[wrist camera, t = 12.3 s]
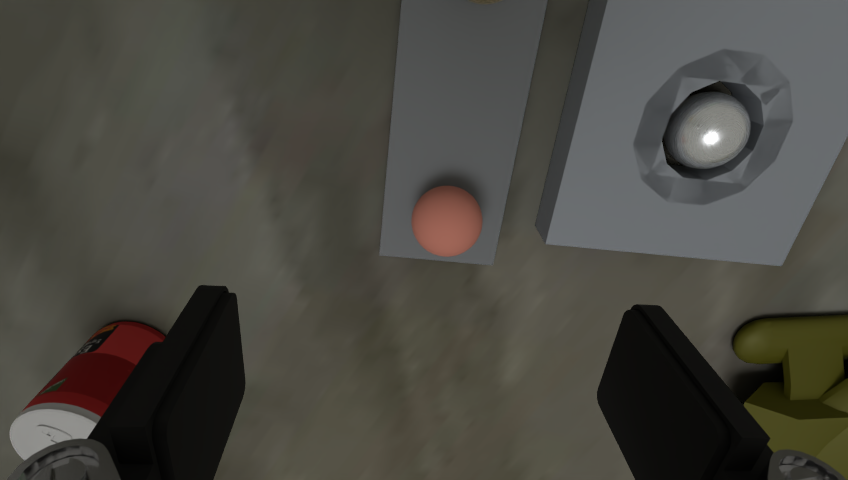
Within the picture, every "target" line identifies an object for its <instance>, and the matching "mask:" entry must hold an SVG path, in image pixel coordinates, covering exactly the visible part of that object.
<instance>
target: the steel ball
mask: <svg viewBox="0 0 848 480" xmlns="http://www.w3.org/2000/svg"><path fill="white" fill-rule="evenodd" d="M750 129H751V122H750V117H749V114H748V112H747V110H746V108H745V107H744V106H743V104H742V103H741V102H740V101H738V100H737V99H736V98H734V97H732V96H730V95H728V94H725V93H721V92H703V93H698V94H695V95H692V96H690V97H688V98H687V99H685V100H684V101H683V102H682V103H681V104H680V105H679V106H678V107H677V108H676V109H675V110H674V111H673V112H672V114H671V115H670V118H669V121H668V124H667V127H666V130H665V133H664V142H665V145H666V148H667V150H668V152H669V153H670V154H671V156H672V157H673V158H674V159H675V160H677V161H678V162H679V163H681V164H683V165H685V166H688V167H692V168H697V169H708V168H713V167H717V166H720V165H723V164H725V163H727V162H728V161H730V160H732V159H733V158H734V157H736V156H737V155H738V154H739V153H740V152H741V150H742V149H743V148H744V146H745V145H746V143H747V141H748V138H749V135H750Z"/></svg>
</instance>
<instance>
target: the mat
mask: <svg viewBox="0 0 848 480" xmlns="http://www.w3.org/2000/svg"><path fill="white" fill-rule="evenodd" d="M547 2H548V0H502V1H500V2H497V3H493V4H477V3H473V2H470V1H468V0H402V1H401V13H400V24H399V36H398V47H397V58H396V70H395V81H394V93H393V104H392V116H391V127H390V138H389V150H388V161H387V173H386V184H385V195H384V207H383V218H382V230H381V241H380V253H379V255H382V256H393V257H405V258H416V259H427V260H438V261H450V262H461V263H472V264H483V265H493V263H494V258H495V253H496V248H497V244H498V239H499V234H500V229H501V224H502V219H503V214H504V210H505V205H506V200H507V195H508V190H509V185H510V181H511V176H512V171H513V166H514V161H515V156H516V152H517V147H518V142H519V137H520V132H521V127H522V123H523V118H524V113H525V108H526V103H527V98H528V94H529V89H530V84H531V79H532V74H533V69H534V65H535V60H536V55H537V50H538V45H539V40H540V36H541V31H542V26H543V21H544V16H545V11H546V7H547ZM439 186H455V187H459V188H461V189H463V190H465V191H467V192H468V193H469V194H471V195H472V196H473V197H474V198H475V200H476V201H477V203H478V205H479V207H480V209H481V213H482V220H483V223H482V229H481V233H480V235H479V237H478V239H477V241H476V242H475V244H474V245H473V246H472V247H471V248H469V249H468V250H467V251H465V252H464V253H461V254H459V255H456V256H450V257H444V256H438V255H435V254H432V253H430V252H429V251H427V250H426V249H424V248H423V247H422V246H421V245H420V244H419V242H418V241H417V239H416V238H415V236H414V233H413V230H412V223H411V220H412V213H413V209H414V207H415V205H416V203H417V201H418V200H419V199H420V197H421V196H422V195H424V194H425V193H426V192H428V191H429V190H431V189H433V188H436V187H439Z"/></svg>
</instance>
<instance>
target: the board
mask: <svg viewBox="0 0 848 480" xmlns="http://www.w3.org/2000/svg"><path fill="white" fill-rule="evenodd" d="M718 81H721V82H722V83H723V84H724V85H725V86H726V87H727V88H728V89H729V90H730V91H731V93H732V97H734V98H736V99H737V100H738V101H740V102H741V103H742V104H743V106H744V107H745V108H746V110H747V112H748V114H749V117H750V122H751V129H750V135H749V138H748V141H747V143H746V145H745V146H744V148H743V149H742V150H741V152H740V153H739V154H738V155H737V156H736V157H734V158H733V159H732V160H730V161H728V162H727V163H725V164H723V165H720V166H717V167H713V168H708V169H697V168H692V167H688V166H685V165H684V166H679V165H670V164H667V163H666V158H665V153H664V148H663V144H662V139H663V136H664V133H665V130H666V127H667V124H668V121H669V118H670V115H671V114H672V112H673V111H674V110H675V109H676V108H677V107H678V106H679V105H680V104H681V103H682V102H683V101H684V100H685V99H686V98H687V97H688V96H689V95H690V93H691V92H693V91H696V90H698V89H701V88H703V87H706V86H708V85H710V84H713V83H715V82H718ZM847 136H848V0H589V3H588V8H587V12H586V16H585V20H584V24H583V28H582V32H581V37H580V41H579V45H578V49H577V53H576V57H575V62H574V66H573V70H572V74H571V78H570V82H569V86H568V91H567V95H566V99H565V103H564V107H563V111H562V116H561V120H560V124H559V128H558V132H557V136H556V141H555V145H554V149H553V153H552V157H551V161H550V165H549V170H548V174H547V178H546V182H545V186H544V190H543V195H542V199H541V203H540V207H539V211H538V215H537V219H536V224H535V226H536V228H537V230H538V232H539V233H540V235H541V237H542V239H543V241H544V242H545V244H550V245H561V246H572V247H583V248H593V249H604V250H615V251H626V252H636V253H647V254H658V255H668V256H679V257H690V258H701V259H711V260H722V261H733V262H744V263H754V264H765V265H776V266H782V264H783V262H784V260H785V258H786V256H787V254H788V252H789V250H790V249H791V247H792V245H793V243H794V241H795V239H796V237H797V235H798V233H799V231H800V229H801V227H802V225H803V223H804V221H805V219H806V217H807V215H808V213H809V211H810V209H811V207H812V205H813V203H814V201H815V199H816V197H817V195H818V193H819V191H820V189H821V187H822V185H823V183H824V182H825V180H826V178H827V176H828V174H829V172H830V170H831V168H832V166H833V164H834V162H835V160H836V158H837V156H838V154H839V152H840V150H841V148H842V146H843V144H844V142H845V140H846V138H847Z"/></svg>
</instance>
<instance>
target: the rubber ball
mask: <svg viewBox="0 0 848 480" xmlns="http://www.w3.org/2000/svg"><path fill="white" fill-rule="evenodd" d="M411 223H412V230H413V233H414V236H415V238H416V239H417V241H418V242H419V244H420V245H421V246H422V247H423V248H424V249H426V250H427V251H429V252H430V253H432V254H435V255H438V256H444V257H450V256H456V255H459V254H461V253H464V252H465V251H467V250H468V249H469V248H471V247H472V246H473V245H474V244H475V242H476V241H477V239H478V237H479V235H480V233H481V229H482V223H483V220H482V213H481V209H480V207H479V205H478V203H477V201H476V200H475V198H474V197H473V196H472V195H471V194H469V193H468V192H467V191H465V190H463V189H461V188H459V187H455V186H439V187H436V188H433V189H431V190H429V191H428V192H426V193H425V194H424V195H422V196H421V197H420V199H419V200H418V201H417V203H416V205H415V207H414V209H413V213H412V220H411Z"/></svg>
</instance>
